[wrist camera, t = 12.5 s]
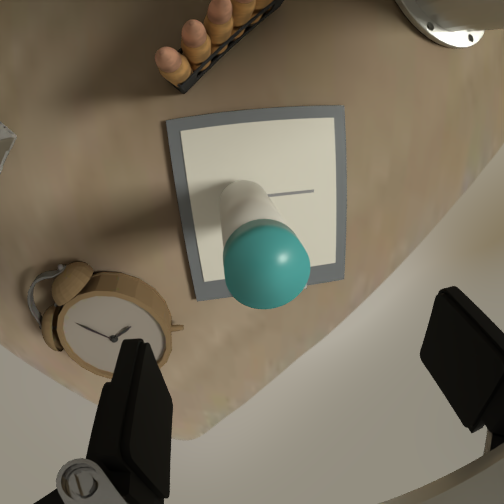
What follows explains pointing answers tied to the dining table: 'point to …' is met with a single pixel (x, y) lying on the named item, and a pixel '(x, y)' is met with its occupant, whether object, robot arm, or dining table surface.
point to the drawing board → (262, 182)
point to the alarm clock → (102, 316)
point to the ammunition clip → (210, 39)
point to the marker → (259, 249)
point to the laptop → (5, 143)
